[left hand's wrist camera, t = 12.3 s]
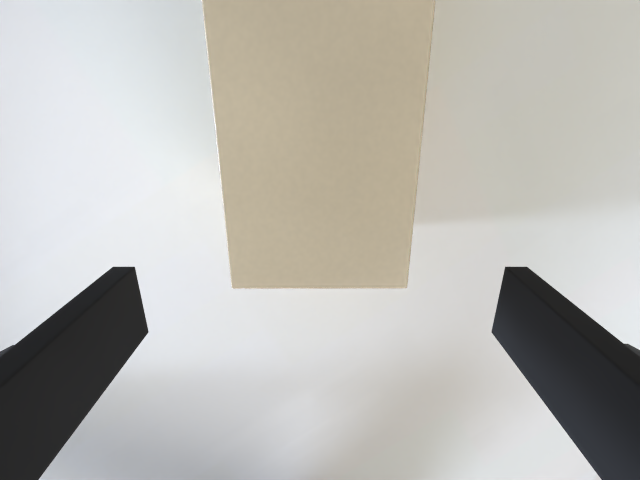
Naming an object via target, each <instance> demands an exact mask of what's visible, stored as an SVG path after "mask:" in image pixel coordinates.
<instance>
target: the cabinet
mask: <svg viewBox="0 0 640 480" xmlns="http://www.w3.org/2000/svg"><path fill="white" fill-rule="evenodd" d="M202 7H203V17H204V26H205V36H206V45H207V55H208V65H209V74H210V84H211V93H212V103H213V112H214V122H215V132H216V141H217V151H218V160H219V170H220V179H221V189H222V199H223V208H224V218H225V227H226V237H227V246H228V256H229V266H230V275H231V285H232V288H233V289H270V288H407V282H408V272H409V262H410V252H411V242H412V232H413V222H414V211H415V201H416V191H417V181H418V171H419V161H420V151H421V140H422V130H423V120H424V110H425V100H426V90H427V80H428V69H429V59H430V49H431V39H432V29H433V19H434V9H435V0H202Z"/></svg>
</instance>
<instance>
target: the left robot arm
mask: <svg viewBox="0 0 640 480" xmlns="http://www.w3.org/2000/svg"><path fill="white" fill-rule="evenodd" d="M147 333H148V328H147V323H146V318H145V313H144V309H143V304H142V299H141V294H140V290H139V285H138V280H137V276H136V271H135V267H112V268H111V269H110V270H109V271H107V272H106V273H105V274H104V275H102V276H101V277H100V278H99V279H97V280H96V281H95V282H93V283H92V284H91V285H90V286H88V287H87V288H86V289H85V290H83V291H82V292H81V293H80V294H78V295H77V296H76V297H75V298H73V299H72V300H71V301H70V302H68V303H67V304H66V305H65V306H63V307H62V308H61V309H60V310H58V311H57V312H56V313H55V314H53V315H52V316H51V317H49V318H48V319H47V320H46V321H44V322H43V323H42V324H41V325H39V326H38V327H37V328H36V329H34V330H33V331H32V332H31V333H29V334H28V335H27V336H26V337H24V338H23V339H22V340H21V341H19V342H18V343H17V344H16V345H12V346H10V347H8V348H6V349H5V350H3V351H1V352H0V480H38V479H39V478H40V477H41V475H42V474H43V473H44V471H45V470H46V469H47V467H48V466H49V465H50V463H51V462H52V461H53V459H54V458H55V457H56V455H57V454H58V453H59V451H60V450H61V449H62V447H63V446H64V444H65V443H66V442H67V440H68V439H69V438H70V436H71V435H72V434H73V432H74V431H75V430H76V428H77V427H78V426H79V424H80V423H81V422H82V420H83V419H84V418H85V416H86V415H87V414H88V412H89V411H90V410H91V408H92V407H93V406H94V404H95V403H96V402H97V400H98V399H99V398H100V396H101V395H102V394H103V392H104V391H105V390H106V388H107V387H108V386H109V384H110V383H111V382H112V380H113V379H114V378H115V376H116V375H117V374H118V372H119V371H120V369H121V368H122V367H123V365H124V364H125V363H126V361H127V360H128V359H129V357H130V356H131V355H132V353H133V352H134V351H135V349H136V348H137V347H138V345H139V344H140V343H141V341H142V340H143V339H144V337H145V336H146V335H147ZM492 333H493V335H494V336H495V337H496V339H497V340H498V341H499V343H500V344H501V345H502V347H503V348H504V349H505V351H506V352H507V353H508V355H509V356H510V357H511V359H512V360H513V361H514V363H515V364H516V365H517V367H518V368H519V369H520V371H521V372H522V374H523V375H524V376H525V378H526V379H527V380H528V382H529V383H530V384H531V386H532V387H533V388H534V390H535V391H536V392H537V394H538V395H539V396H540V398H541V399H542V400H543V402H544V403H545V404H546V406H547V407H548V408H549V410H550V411H551V412H552V414H553V415H554V416H555V418H556V419H557V420H558V422H559V423H560V424H561V426H562V427H563V428H564V430H565V431H566V432H567V434H568V435H569V436H570V438H571V439H572V440H573V442H574V443H575V444H576V446H577V447H578V449H579V450H580V451H581V453H582V454H583V455H584V457H585V458H586V459H587V461H588V462H589V463H590V465H591V466H592V467H593V469H594V470H595V471H596V473H597V474H598V475H599V477H600V478H601V479H602V480H640V350H638V349H636V348H635V347H633V346H631V345H629V344H623V343H622V342H621V341H619V340H618V339H617V338H616V337H614V336H613V335H612V334H611V333H609V332H608V331H607V330H606V329H604V328H603V327H602V326H601V325H599V324H598V323H597V322H596V321H594V320H593V319H592V318H591V317H589V316H588V315H587V314H585V313H584V312H583V311H582V310H580V309H579V308H578V307H577V306H575V305H574V304H573V303H572V302H570V301H569V300H568V299H567V298H565V297H564V296H563V295H562V294H560V293H559V292H558V291H557V290H555V289H554V288H553V287H552V286H550V285H549V284H548V283H547V282H545V281H544V280H543V279H541V278H540V277H539V276H538V275H536V274H535V273H534V272H533V271H531V270H530V269H529V268H528V267H505V271H504V276H503V280H502V285H501V290H500V294H499V299H498V304H497V309H496V313H495V318H494V323H493V328H492Z"/></svg>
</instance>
